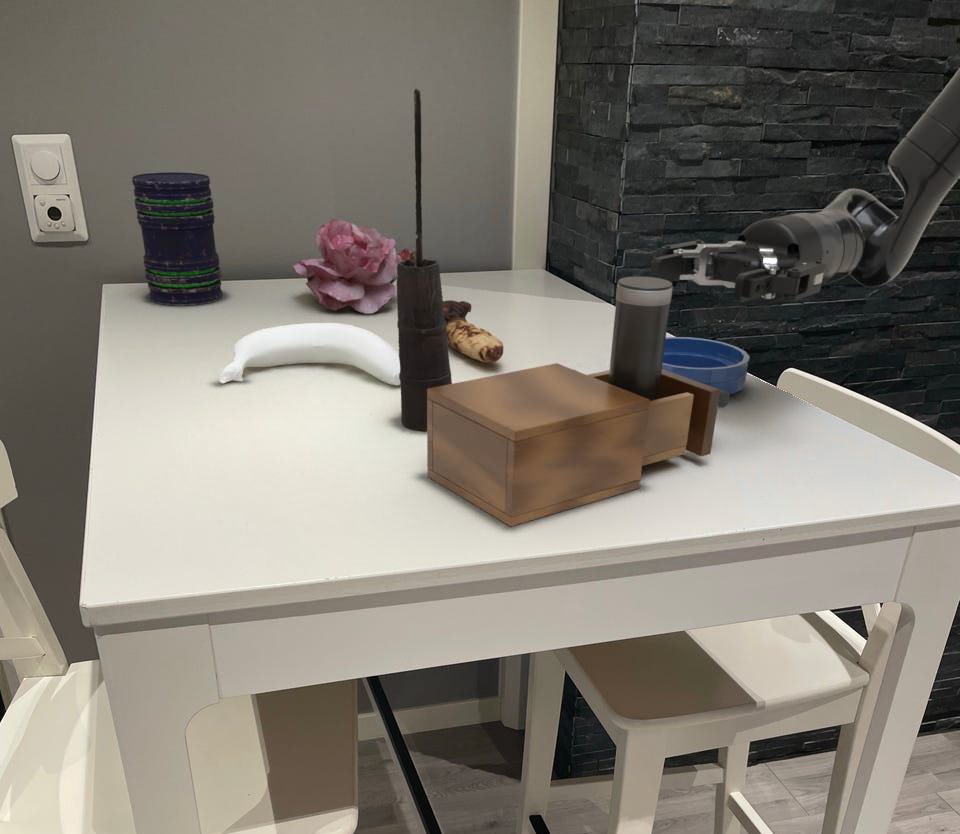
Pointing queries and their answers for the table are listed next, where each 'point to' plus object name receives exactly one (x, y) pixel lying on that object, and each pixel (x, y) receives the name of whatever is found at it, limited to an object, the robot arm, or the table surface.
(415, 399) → the butter churn
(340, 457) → the table surface
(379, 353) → the banana
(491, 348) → the tan mottled elongated piece
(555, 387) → the cabinet
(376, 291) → the flower
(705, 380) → the bowl
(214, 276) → the storage jar
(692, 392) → the drawer
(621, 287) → the pepper mill
